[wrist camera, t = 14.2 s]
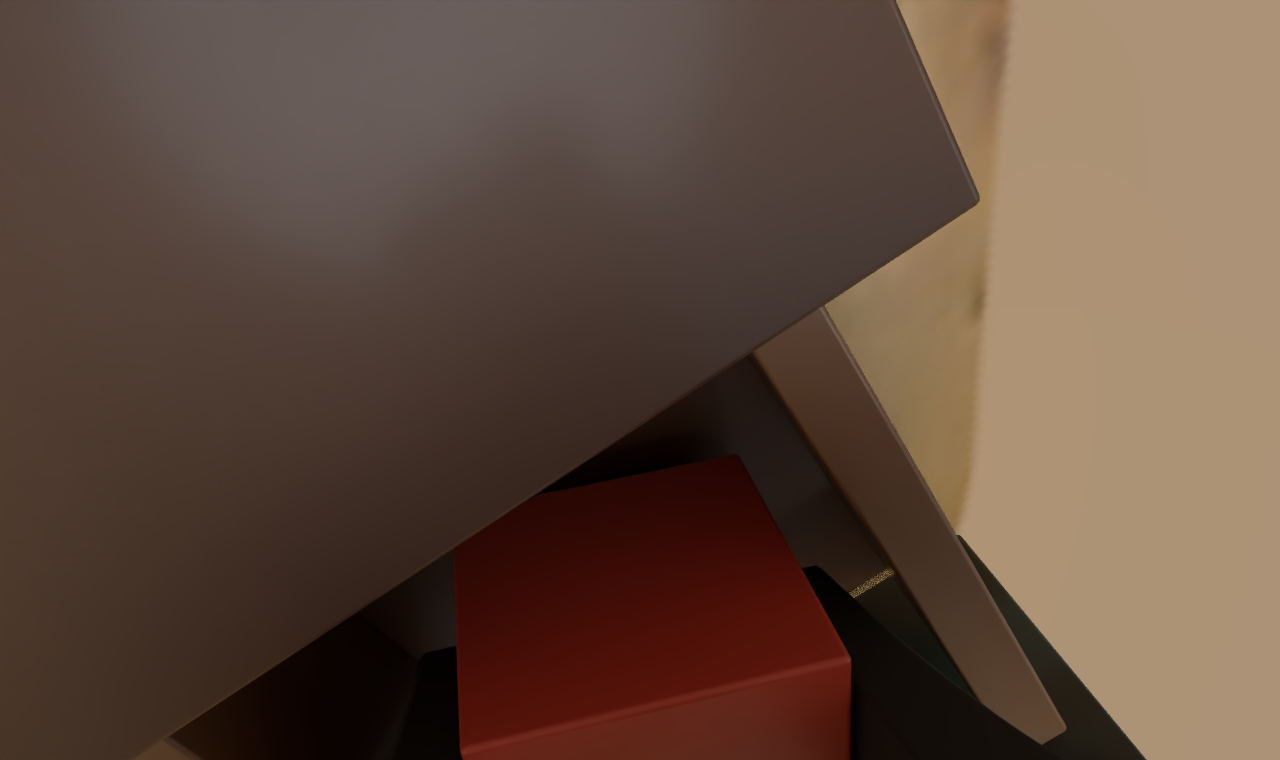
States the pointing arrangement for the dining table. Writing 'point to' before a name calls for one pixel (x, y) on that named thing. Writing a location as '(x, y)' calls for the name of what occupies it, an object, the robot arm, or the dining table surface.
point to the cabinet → (384, 293)
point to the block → (646, 628)
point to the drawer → (807, 517)
